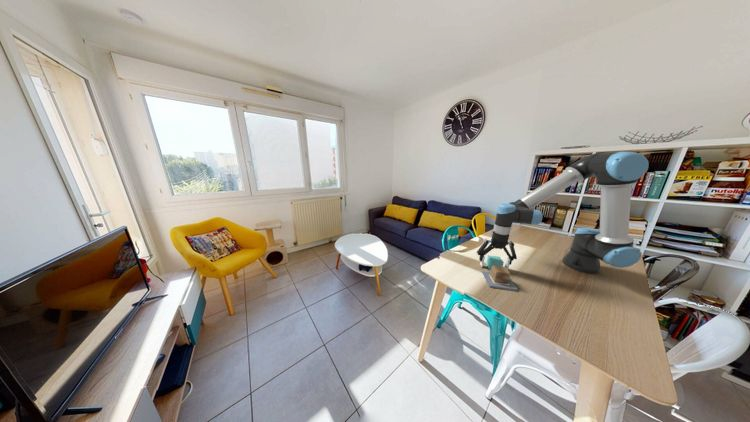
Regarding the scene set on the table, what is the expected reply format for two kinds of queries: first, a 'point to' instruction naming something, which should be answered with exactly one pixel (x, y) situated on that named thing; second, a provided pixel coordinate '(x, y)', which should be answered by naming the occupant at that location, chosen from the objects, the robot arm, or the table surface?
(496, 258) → the teal block
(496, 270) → the walnut block
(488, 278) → the build pad
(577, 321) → the table surface
